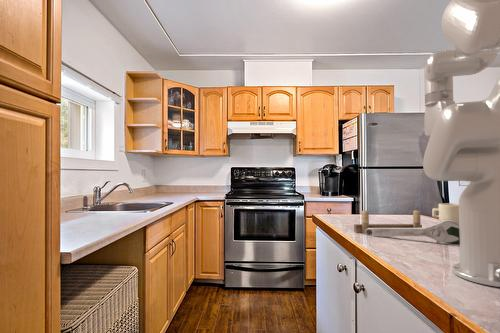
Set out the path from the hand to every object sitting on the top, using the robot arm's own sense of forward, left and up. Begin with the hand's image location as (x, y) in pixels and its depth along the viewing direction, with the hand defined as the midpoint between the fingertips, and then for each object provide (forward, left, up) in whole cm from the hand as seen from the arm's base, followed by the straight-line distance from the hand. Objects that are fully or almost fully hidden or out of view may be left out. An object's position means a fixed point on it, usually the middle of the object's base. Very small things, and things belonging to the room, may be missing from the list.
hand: (440, 156), depth 87 cm
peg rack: (+22, +6, -29) cm, 37 cm away
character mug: (+8, -8, -29) cm, 32 cm away
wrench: (+11, +4, -30) cm, 32 cm away
